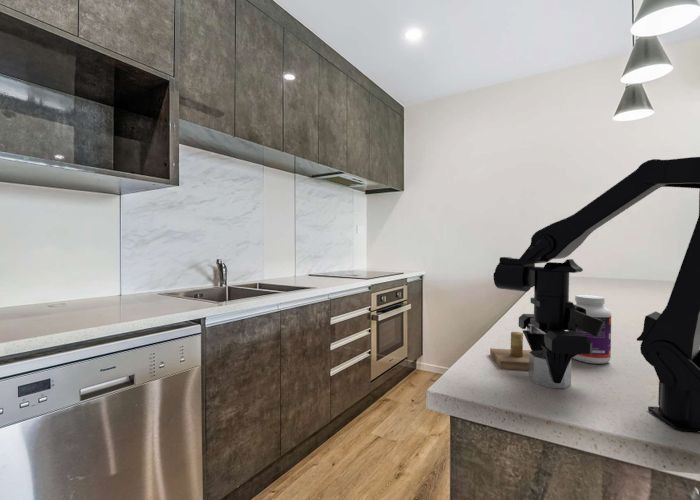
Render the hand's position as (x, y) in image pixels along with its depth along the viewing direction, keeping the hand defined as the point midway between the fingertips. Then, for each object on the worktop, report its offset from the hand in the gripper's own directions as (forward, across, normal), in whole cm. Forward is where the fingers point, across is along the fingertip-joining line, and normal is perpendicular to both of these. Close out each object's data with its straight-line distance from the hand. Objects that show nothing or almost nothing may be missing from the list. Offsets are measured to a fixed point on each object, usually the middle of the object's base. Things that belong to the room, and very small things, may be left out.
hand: (549, 375), depth 67 cm
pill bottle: (+1, +15, -14) cm, 21 cm away
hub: (+1, 0, 0) cm, 1 cm away
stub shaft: (+1, +10, +3) cm, 10 cm away
